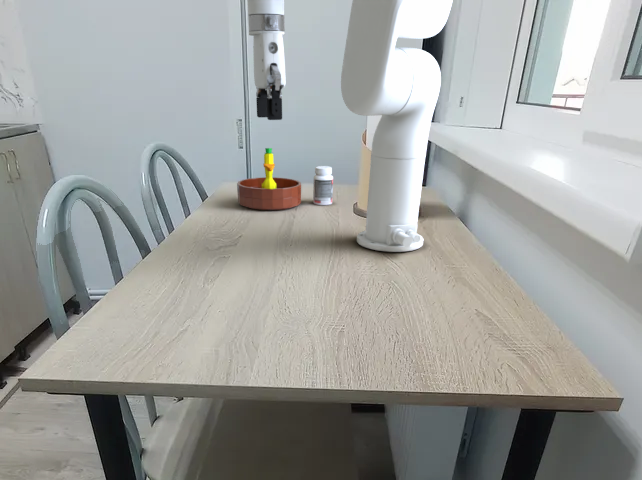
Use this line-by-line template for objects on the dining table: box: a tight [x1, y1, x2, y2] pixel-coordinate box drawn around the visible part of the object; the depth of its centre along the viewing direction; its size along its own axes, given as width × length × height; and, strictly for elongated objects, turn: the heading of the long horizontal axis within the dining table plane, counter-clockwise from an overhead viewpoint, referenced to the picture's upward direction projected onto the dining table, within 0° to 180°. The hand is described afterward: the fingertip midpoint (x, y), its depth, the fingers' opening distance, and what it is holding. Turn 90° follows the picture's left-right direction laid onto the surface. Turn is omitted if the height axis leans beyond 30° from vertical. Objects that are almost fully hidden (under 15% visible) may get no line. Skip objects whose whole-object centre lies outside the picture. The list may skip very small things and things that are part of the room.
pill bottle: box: [312, 165, 334, 206], centre depth 128 cm, size 5×5×8 cm
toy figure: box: [262, 147, 276, 189], centre depth 125 cm, size 7×4×12 cm, turn 7°
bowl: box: [236, 176, 302, 211], centre depth 127 cm, size 15×15×5 cm
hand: (269, 118), depth 119 cm, fingers open, 9 cm apart
